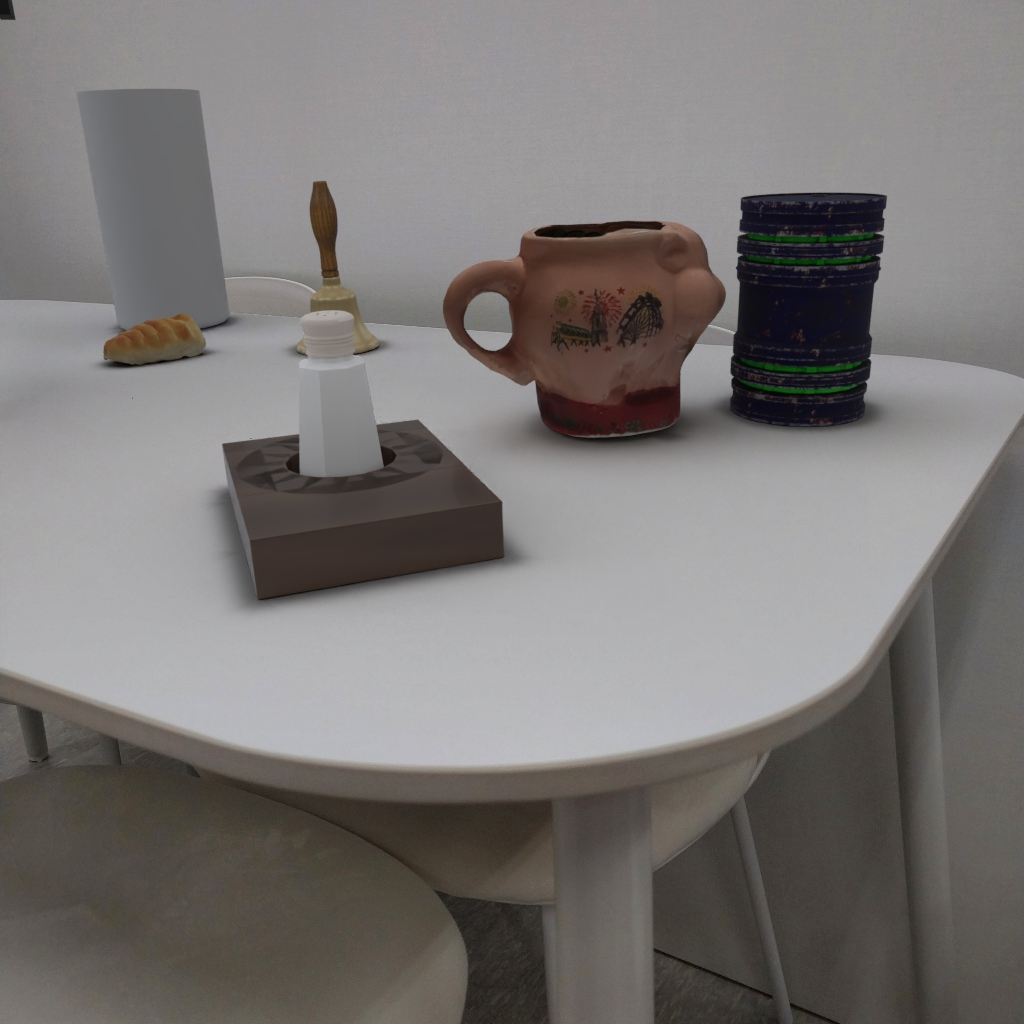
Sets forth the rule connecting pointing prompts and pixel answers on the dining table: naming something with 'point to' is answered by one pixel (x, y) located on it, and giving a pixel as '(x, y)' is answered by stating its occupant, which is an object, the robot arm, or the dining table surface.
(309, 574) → the holder
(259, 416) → the dining table surface
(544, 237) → the ceramic mug
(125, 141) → the cylinder vase
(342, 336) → the salt shaker
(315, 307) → the hand bell
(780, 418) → the storage jar
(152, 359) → the pastry
